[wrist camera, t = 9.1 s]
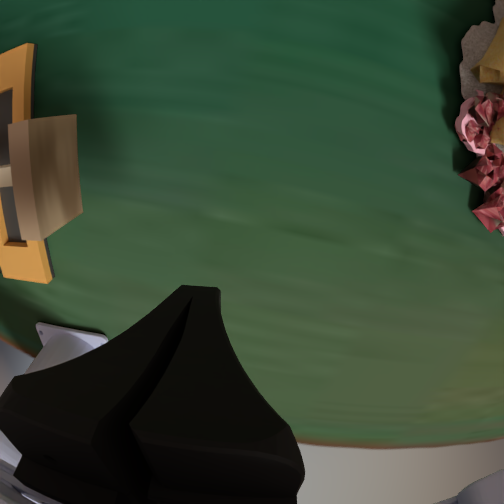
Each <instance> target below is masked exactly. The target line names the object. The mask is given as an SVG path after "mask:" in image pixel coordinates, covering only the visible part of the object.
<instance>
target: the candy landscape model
mask: <svg viewBox="0 0 504 504" xmlns="http://www.w3.org/2000/svg"><path fill="white" fill-rule="evenodd" d="M495 2H496V4H495V5H494V6H493V13H494V17H495V23H494V24H492V23H489V22H486V21H483V22H481V24H480V25H479V26H476V25H473V26H471V28H470V30H469V31H468V32H467V33H466V35H465V37H464V38H463V39H462V41H461V45H462V51H463V61H462V62H461V64H460V77H461V93H462V96H463V98H464V99H465V101H464V102H463V103H462V104H461V108H460V115H459V116H458V117H457V119H456V121H455V129H456V132H457V133H458V135H459V137H460V139H461V141H462V142H463V143H464V144H465V145H466V147H467V149H468V150H469V151H472V152H475V153H476V157H477V158H476V159H475V160H474V161H473V162H471V163H470V164H469V165H468V166H467V167H466V168H465V169H464V170H462V171H461V172H460V173H459V174H458V175H459V176H460V177H462V178H464V179H465V180H467V181H469V182H470V183H472V184H474V185H475V186H477V187H479V188H480V189H482V190H483V191H485V193H484V198H483V203H484V204H482V205H481V206H479V207H478V208H476V209H474V210H473V213H474V214H475V215H476V216H477V217H478V218H479V219H480V221H481V222H482V223H483V224H484V225H485V227H486V228H487V229H488V230H489V231H490V233H491V232H492V231H493V230H496V229H499V230H500V232H501V233H502V235H503V236H504V0H495Z"/></svg>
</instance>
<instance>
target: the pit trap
mask: <svg viewBox="0 0 504 504" xmlns="http://www.w3.org/2000/svg"><path fill="white" fill-rule="evenodd" d="M36 54H37V44H31V43H26V44H23V45H21V46H19V47H16V48H14V49H11V50H9V51H7V52H5V53H2V54H0V166H3V165H9V164H10V155H9V139H8V124H12V123H16V122H20V121H24V120H28V119H34V83H35V66H36ZM0 267H1V270H2V274H3V277H5V278H11V279H18V280H24V281H31V282H38V283H45V284H48V283H49V282H50V281H51V280H52V279H53V278H54V277H55V274H54V270H53V266H52V262H51V257H50V253H49V248H48V243H47V238H45V239H44V240H42V241H31V240H22V238H21V233H20V228H19V223H18V218H17V212H16V206H15V199H14V193H13V186H9V187H0Z"/></svg>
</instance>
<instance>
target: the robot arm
mask: <svg viewBox="0 0 504 504" xmlns="http://www.w3.org/2000/svg"><path fill="white" fill-rule="evenodd" d="M36 329H37V332H38V334H39V337H40V339H41V342H42V344H43V348H42V350H41V351H40V352H39V354H38V355H37V357H36V358H35V359H34V361H33V362H32V364H31V365H30V366H29V368H28V369H27V371H26V372H25V373H24V374H23V375H19V376H15V377H14V378H13V379H12V381H11V382H10V383H9V385H8V386H7V388H6V389H5V391H4V392H3V394H2V395H1V397H0V504H297V493H298V491H299V489H300V487H301V485H302V483H303V481H304V477H305V468H304V463H303V459H302V456H301V452H300V450H299V447H298V444H297V442H296V439H295V437H294V435H293V433H292V430H291V428H290V426H289V425H288V424H287V423H286V422H285V421H284V420H283V419H282V418H281V417H280V416H279V415H278V414H277V413H276V411H275V410H274V409H273V408H272V407H271V406H270V405H269V404H268V402H267V401H266V400H265V399H264V398H263V396H262V395H261V394H260V393H259V391H258V390H257V388H256V387H255V386H254V384H253V383H252V381H251V380H250V378H249V377H248V375H247V374H246V372H245V371H244V369H243V367H242V366H241V364H240V362H239V360H238V358H237V356H236V354H235V352H234V350H233V348H232V346H231V343H230V341H229V338H228V336H227V333H226V330H225V327H224V323H223V320H222V316H221V291H220V290H219V289H218V288H217V287H204V286H189V285H181V286H180V287H179V288H178V289H177V290H175V291H174V292H173V293H172V294H171V295H170V296H169V297H167V298H166V299H165V300H164V301H163V302H162V303H161V304H159V305H158V306H157V307H156V308H155V309H153V310H152V311H151V312H150V313H149V314H147V315H146V316H145V317H143V318H142V319H141V320H139V321H138V322H137V323H136V324H134V325H133V326H132V327H130V328H129V329H127V330H126V331H124V332H123V333H121V334H120V335H118V336H117V337H115V338H113V339H112V340H110V341H108V339H107V337H106V336H105V335H103V334H98V333H92V332H86V331H81V330H75V329H70V328H65V327H60V326H55V325H50V324H46V323H41V322H38V323H37V324H36ZM434 504H504V470H499V471H497V472H495V473H493V474H491V475H488V476H486V477H484V478H481V479H479V480H477V481H475V482H473V483H472V484H470V485H468V486H467V487H466V488H464V489H463V490H462V491H461V492H459V493H458V495H457V496H455V497H452V498H449V499H446V500H443V501H440V502H438V503H434Z"/></svg>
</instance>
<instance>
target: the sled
mask: <svg viewBox="0 0 504 504" xmlns="http://www.w3.org/2000/svg"><path fill="white" fill-rule="evenodd" d="M8 139H9V155H10V164H9V165H3V166H0V187H9V186H13V193H14V199H15V206H16V212H17V218H18V223H19V228H20V233H21V238H22V240H31V241H42V240H44V239H45V238H46V237H48V236H49V235H51V234H52V233H53V232H55V231H56V230H58V229H59V228H61V227H62V226H63V225H65V224H66V223H68V222H69V221H71V220H72V219H74V218H75V217H77V216H78V215H80V214H81V213H83V208H82V199H81V190H80V179H79V166H78V149H77V114H73V115H62V116H52V117H43V118H36V119H28V120H24V121H20V122H16V123H12V124H8Z"/></svg>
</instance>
